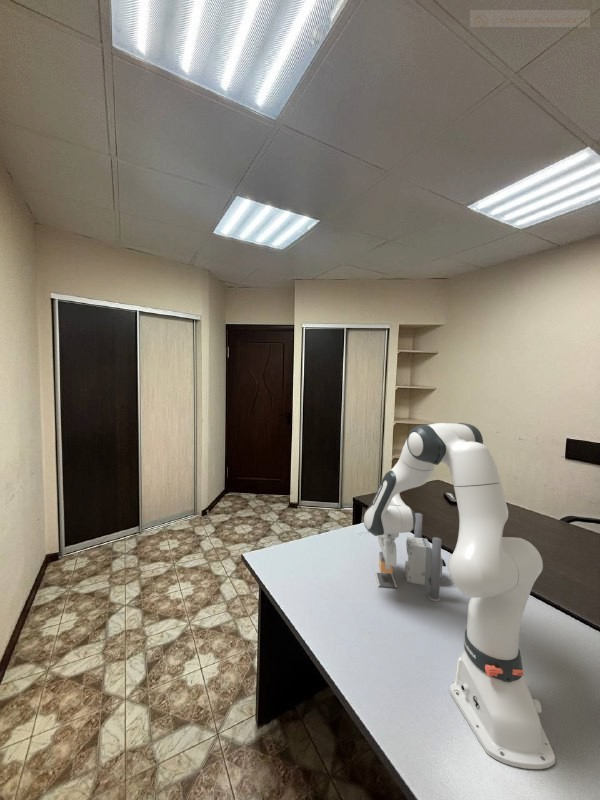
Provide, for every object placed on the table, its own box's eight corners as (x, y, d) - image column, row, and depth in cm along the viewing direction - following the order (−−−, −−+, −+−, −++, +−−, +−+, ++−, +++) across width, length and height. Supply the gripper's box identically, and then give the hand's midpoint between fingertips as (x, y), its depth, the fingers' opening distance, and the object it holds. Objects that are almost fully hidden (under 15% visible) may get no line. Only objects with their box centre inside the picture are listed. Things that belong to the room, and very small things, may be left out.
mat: (397, 588, 123) (397, 587, 123) (378, 587, 123) (378, 585, 123) (392, 574, 132) (392, 573, 132) (374, 573, 132) (374, 572, 132)
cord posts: (441, 602, 116) (444, 542, 115) (430, 601, 116) (433, 541, 115) (420, 561, 143) (422, 512, 142) (410, 560, 143) (412, 512, 142)
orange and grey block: (392, 573, 125) (393, 558, 125) (380, 572, 126) (381, 557, 125) (390, 567, 130) (390, 552, 129) (378, 566, 130) (379, 551, 130)
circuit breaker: (446, 587, 124) (447, 549, 124) (407, 582, 127) (408, 545, 126) (441, 576, 132) (443, 540, 131) (405, 571, 134) (406, 536, 134)
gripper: (401, 543, 116) (400, 580, 117) (390, 519, 137) (388, 551, 137) (383, 541, 117) (382, 579, 117) (375, 518, 137) (373, 550, 138)
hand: (385, 563), depth 127 cm, fingers closed on orange and grey block, 4 cm apart
